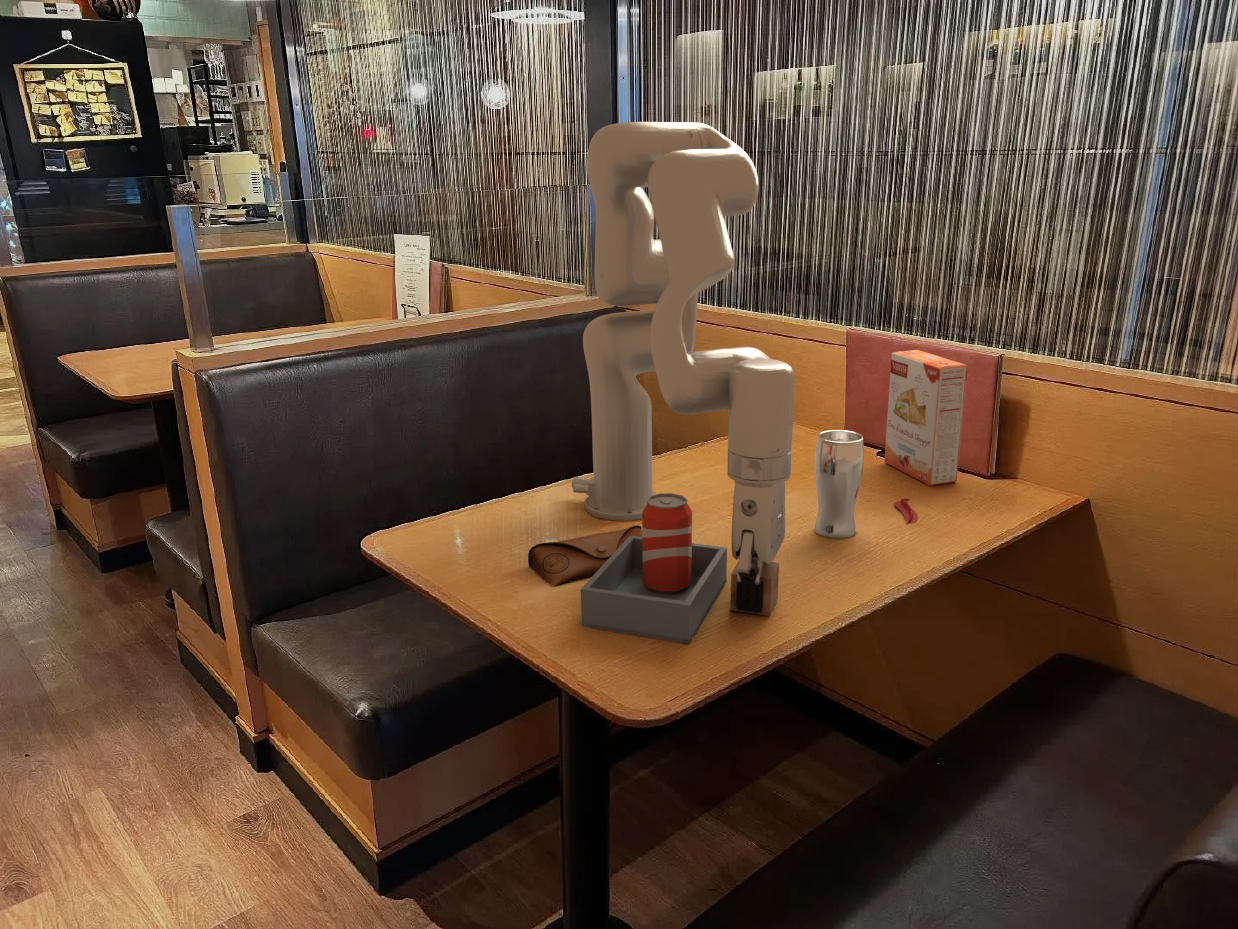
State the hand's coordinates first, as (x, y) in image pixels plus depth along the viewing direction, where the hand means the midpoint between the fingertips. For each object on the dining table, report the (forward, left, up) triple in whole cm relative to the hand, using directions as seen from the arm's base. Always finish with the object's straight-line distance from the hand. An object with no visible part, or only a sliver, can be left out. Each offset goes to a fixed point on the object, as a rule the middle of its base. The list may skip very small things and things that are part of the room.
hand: (754, 598), depth 116 cm
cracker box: (+16, +60, -1) cm, 62 cm away
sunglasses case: (-24, +6, -2) cm, 24 cm away
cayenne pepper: (+16, +40, -2) cm, 43 cm away
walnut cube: (0, 0, -1) cm, 1 cm away
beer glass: (+6, +28, -1) cm, 29 cm away
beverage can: (-12, +1, -1) cm, 12 cm away
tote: (-12, -3, -1) cm, 12 cm away
